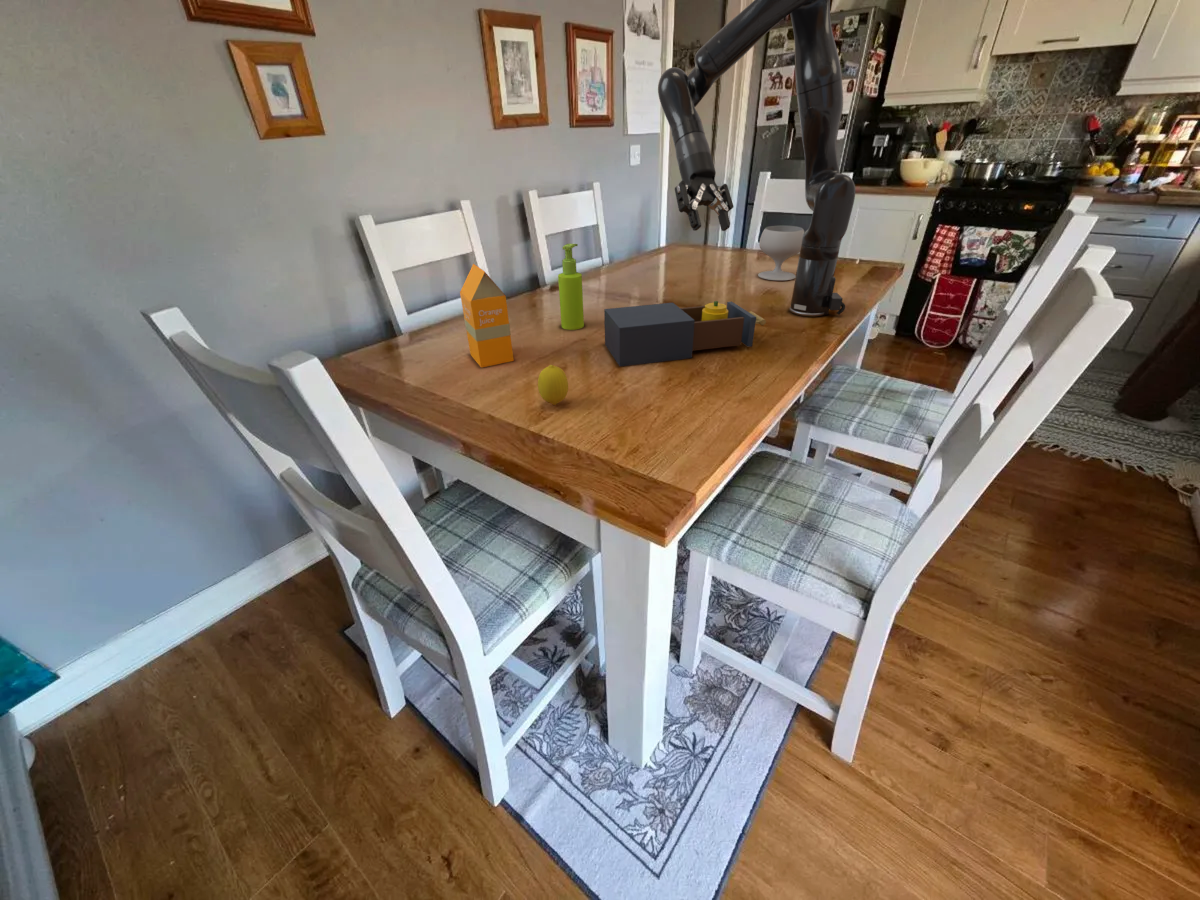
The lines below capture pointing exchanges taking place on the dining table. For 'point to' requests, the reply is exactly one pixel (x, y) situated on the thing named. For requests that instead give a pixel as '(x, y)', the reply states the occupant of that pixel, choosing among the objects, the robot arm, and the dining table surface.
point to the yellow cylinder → (714, 311)
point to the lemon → (552, 384)
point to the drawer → (724, 328)
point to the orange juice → (486, 319)
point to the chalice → (780, 248)
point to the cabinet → (648, 333)
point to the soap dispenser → (570, 292)
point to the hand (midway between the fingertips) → (712, 229)
